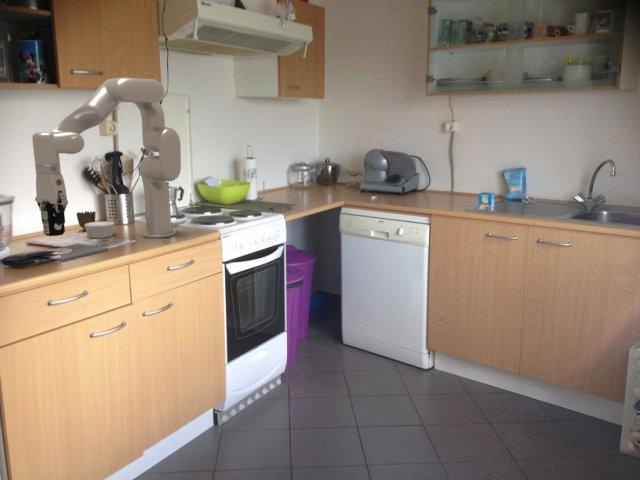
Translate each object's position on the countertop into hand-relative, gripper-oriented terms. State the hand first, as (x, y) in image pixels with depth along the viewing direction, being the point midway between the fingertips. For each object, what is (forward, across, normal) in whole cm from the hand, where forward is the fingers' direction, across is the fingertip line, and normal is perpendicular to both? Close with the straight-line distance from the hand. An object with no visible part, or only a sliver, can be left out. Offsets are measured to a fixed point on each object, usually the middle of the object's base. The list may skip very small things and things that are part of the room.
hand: (53, 222), depth 192 cm
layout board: (+11, -2, -4) cm, 12 cm away
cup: (+11, +28, -35) cm, 46 cm away
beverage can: (+4, 0, 0) cm, 4 cm away
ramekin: (+12, +14, -30) cm, 35 cm away
